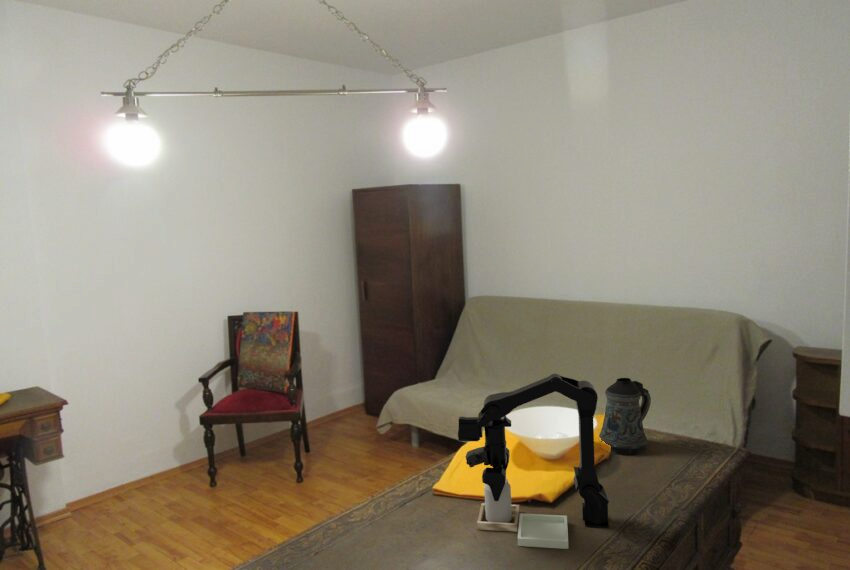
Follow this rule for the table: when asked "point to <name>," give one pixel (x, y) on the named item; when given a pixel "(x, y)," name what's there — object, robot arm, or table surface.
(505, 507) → the can
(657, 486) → the table surface
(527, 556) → the table surface
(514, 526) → the holder
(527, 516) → the tray
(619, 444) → the beer stein
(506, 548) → the table surface
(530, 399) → the robot arm
